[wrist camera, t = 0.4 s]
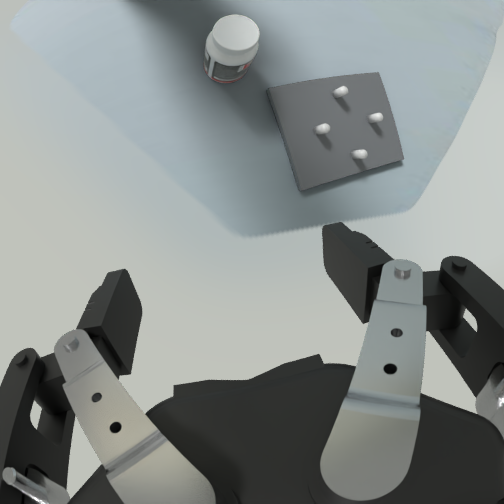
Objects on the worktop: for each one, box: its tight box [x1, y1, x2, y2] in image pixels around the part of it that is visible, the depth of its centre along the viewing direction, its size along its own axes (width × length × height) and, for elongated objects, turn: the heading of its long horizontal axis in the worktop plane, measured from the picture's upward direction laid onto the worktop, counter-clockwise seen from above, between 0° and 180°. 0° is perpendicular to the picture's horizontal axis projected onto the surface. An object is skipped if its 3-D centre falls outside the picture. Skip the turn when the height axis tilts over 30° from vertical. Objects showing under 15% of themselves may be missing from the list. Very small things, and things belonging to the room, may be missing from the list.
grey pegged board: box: [267, 72, 404, 191], centre depth 35 cm, size 14×18×4 cm
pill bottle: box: [203, 15, 260, 83], centre depth 27 cm, size 6×6×10 cm
